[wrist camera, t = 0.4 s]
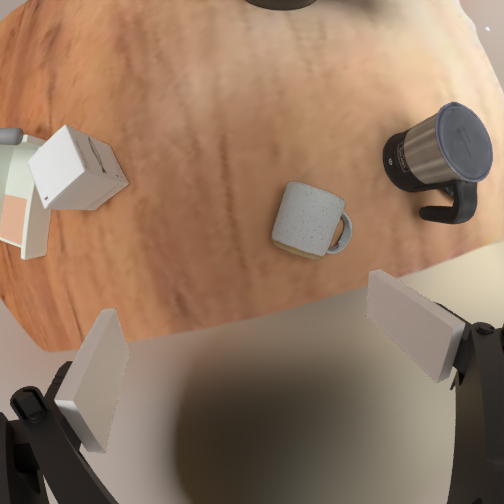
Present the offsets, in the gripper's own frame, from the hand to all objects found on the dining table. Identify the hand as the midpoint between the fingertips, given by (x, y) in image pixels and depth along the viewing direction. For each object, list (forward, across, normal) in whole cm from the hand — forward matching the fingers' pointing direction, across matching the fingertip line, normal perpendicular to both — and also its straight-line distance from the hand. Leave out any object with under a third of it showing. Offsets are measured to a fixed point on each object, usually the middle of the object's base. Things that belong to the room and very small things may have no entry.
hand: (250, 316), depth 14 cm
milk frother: (+22, +33, +6) cm, 40 cm away
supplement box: (+31, -16, +8) cm, 36 cm away
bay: (+34, -33, +8) cm, 48 cm away
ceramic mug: (+25, +13, -1) cm, 28 cm away
